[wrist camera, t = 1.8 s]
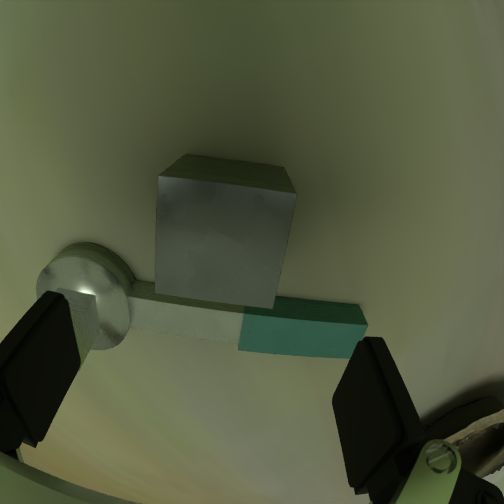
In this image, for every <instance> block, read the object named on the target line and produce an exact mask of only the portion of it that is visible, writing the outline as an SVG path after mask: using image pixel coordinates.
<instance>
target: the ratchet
mask: <svg viewBox="0 0 504 504" xmlns="http://www.w3.org/2000/svg"><path fill="white" fill-rule="evenodd" d="M48 290H49V291H54V292H58V293H62V294H63V295H64V296H65V299H67V300H68V302H69V306H70V312H71V317H72V322H73V327H74V332H75V336H76V341H77V345H78V349H79V354H80V358H81V365H80V368H81V366H82V364H83V362H84V360H85V358H86V356H87V354H88V353H89V351H90V349H92V350H105V349H110V348H113V347H115V346H117V345H118V344H119V343H121V341H122V340H123V339H124V337H125V336H126V334H127V332H128V329H129V327H133V328H138V329H144V330H149V331H155V332H161V333H167V334H173V335H179V336H186V337H193V338H200V339H207V340H214V341H222V342H230V343H238V350H241V351H250V352H260V353H270V354H281V355H294V356H308V357H325V358H347V359H350V358H351V356H352V354H353V351H354V349H355V347H356V344H357V342H358V341H362V339H363V337H364V334H365V332H366V330H367V327H368V323H367V321H366V319H365V317H364V315H363V312H362V310H361V308H360V306H359V305H354V304H344V303H334V302H324V301H314V300H305V299H296V298H287V297H278V296H275V300H274V305H273V309H269V308H260V307H252V306H244V305H236V304H228V303H220V302H213V301H205V300H198V299H191V298H185V297H178V296H171V295H165V294H158V293H155V283H150V282H144V281H138V280H136V279H135V277H134V275H133V273H132V271H131V270H130V269H129V267H128V266H127V265H126V263H125V262H124V261H123V260H122V259H121V258H120V257H118V256H117V255H116V254H115V253H113V252H112V251H110V250H109V249H107V248H105V247H103V246H100V245H97V244H93V243H87V242H81V243H75V244H72V245H70V246H68V247H66V248H65V249H64V250H63V251H62V252H60V253H59V254H58V255H57V256H56V257H55V258H54V259H53V260H52V261H51V262H50V263H49V264H48V265H47V266H46V267H45V268H44V269H43V270H42V271H41V273H40V275H39V277H38V280H37V285H36V294H37V300H38V299H39V298H40V297H41V296H42V295H43V294H44V293H45V292H46V291H48ZM80 368H79V370H80ZM79 370H78V371H79Z"/></svg>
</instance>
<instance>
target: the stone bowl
mask: <svg viewBox="0 0 504 504" xmlns="http://www.w3.org/2000/svg"><path fill="white" fill-rule="evenodd" d="M425 433H426V435H427V438H428V441H431V440H435V439H442V440H445V441H448V442H449V443H451V444H452V445H454V447H455V448H456V449H457V450H458V452H459V454H460V456H461V468H463V469H465V470H467V471H469V472H471V473H472V474H474V475H476V476H478V477H480V478H483V477H485V476H487V475H489V474H494V472H495V471H496V470H498V471H499V470H500V469H501V468H502V466H504V405H503V403H502V402H501V401H500V400H498V399H496V398H487V397H485V398H482V399H479V401H477V402H475V403H472V404H469V405H466V406H464V407H460V408H456V409H453V410H451V411H450V412H448V413H447V414H446V415H445V416H444V417H443V418H442V419H441V420H439V421H437V422H435V423H434V424H433V425H432V426H430V427H429V428H427V429H426V430H425ZM467 437H468V439H467V440H465V439H466V438H467ZM462 441H463V442H462Z"/></svg>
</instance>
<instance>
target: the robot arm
mask: <svg viewBox="0 0 504 504" xmlns="http://www.w3.org/2000/svg"><path fill="white" fill-rule="evenodd" d="M80 365H81V358H80V354H79V349H78V345H77V341H76V336H75V332H74V327H73V322H72V317H71V312H70V306H69V302H68V300H67V299H65V296H64V295H63V294H62V293H58V292H54V291H49V290H48V291H46V292H45V293H44V294H43V295H42V296H41V297H40V298H39V299H38V300H37V301H36V302H35V303H34V305H33V306H32V307H31V308H30V309H29V310H28V311H27V312H26V314H25V315H24V316H23V317H22V318H21V319H20V320H19V322H18V323H17V324H16V325H15V326H14V328H13V329H12V330H11V331H10V332H9V333H8V335H7V336H6V337H5V338H4V340H3V341H2V342H1V343H0V504H140V503H136V502H132V501H128V500H124V499H121V498H117V497H113V496H110V495H106V494H103V493H100V492H97V491H93V490H90V489H87V488H84V487H81V486H79V485H76V484H73V483H70V482H68V481H65V480H62V479H60V478H57V477H55V476H52V475H50V474H48V473H45V472H43V471H41V470H38V469H36V468H34V467H31V466H29V465H27V464H25V463H24V461H23V458H22V454H21V451H20V445H21V443H22V442H23V443H25V444H27V445H30V446H32V447H34V448H36V446H37V444H38V442H41V441H42V440H43V439H44V437H45V435H46V433H47V431H48V429H49V427H50V425H51V423H52V421H53V419H54V417H55V415H56V413H57V411H58V409H59V407H60V405H61V403H62V401H63V399H64V397H65V395H66V393H67V391H68V389H69V387H70V385H71V383H72V382H73V380H74V378H75V376H76V374H77V372H78V370H79V368H80ZM332 405H333V410H334V414H335V419H336V424H337V428H338V433H339V438H340V443H341V447H342V452H343V457H344V462H345V467H346V472H347V477H348V483H349V485H350V487H354V491H355V495H359V494H366V493H369V497H370V502H369V504H504V497H503V494H502V492H501V491H500V489H499V488H498V487H497V486H495V485H494V484H492V483H490V482H488V481H486V480H484V479H482V478H480V477H478V476H476V475H474V474H472V473H471V472H469V471H467V470H465V469H463V468H461V456H460V454H459V452H458V450H457V449H456V448H455V447H454V445H452V444H451V443H449V442H448V441H445V440H442V439H435V440H431V441H428V438H427V435H426V433H425V430H424V428H423V426H422V423H421V421H420V418H419V416H418V414H417V411H416V409H415V407H414V404H413V402H412V400H411V397H410V395H409V393H408V391H407V388H406V386H405V384H404V382H403V379H402V377H401V375H400V373H399V371H398V368H397V366H396V364H395V362H394V360H393V358H392V356H391V353H390V351H389V349H388V347H387V345H386V343H385V341H384V339H383V338H382V337H368V336H366V337H364V338H363V340H362V341H358V342H357V344H356V347H355V349H354V351H353V354H352V356H351V358H350V360H349V363H348V365H347V367H346V369H345V371H344V373H343V376H342V378H341V380H340V382H339V384H338V386H337V388H336V390H335V392H334V395H333V398H332Z"/></svg>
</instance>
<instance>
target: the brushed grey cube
mask: <svg viewBox="0 0 504 504" xmlns="http://www.w3.org/2000/svg"><path fill="white" fill-rule="evenodd" d="M296 198H297V193H296V191H295V189H294V187H293V185H292V183H291V181H290V179H289V177H288V175H287V173H286V171H285V169H284V167H278V166H272V165H266V164H259V163H252V162H245V161H238V160H231V159H223V158H215V157H206V156H197V155H188V154H185V155H184V156H182V157H181V158H180V159H179V160H177V161H176V162H175V163H174V164H172V165H171V166H170V167H169V168H167V169H166V170H165V171H164V172H163V173H161V174H160V175H159V176H158V191H157V211H156V240H155V293H158V294H165V295H171V296H178V297H185V298H191V299H198V300H205V301H213V302H220V303H228V304H236V305H244V306H252V307H260V308H269V309H273V305H274V300H275V296H276V292H277V287H278V283H279V278H280V274H281V269H282V264H283V260H284V255H285V251H286V246H287V241H288V237H289V232H290V227H291V222H292V217H293V213H294V208H295V203H296Z"/></svg>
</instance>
